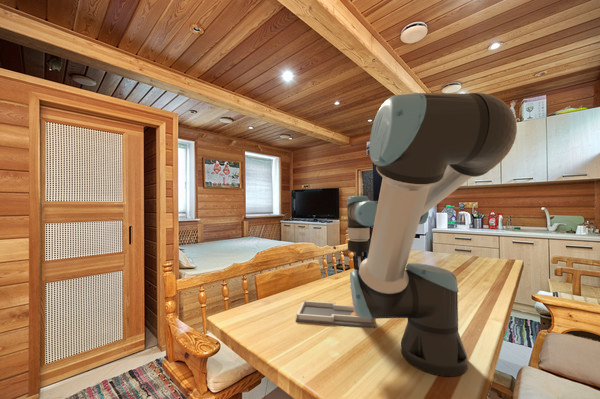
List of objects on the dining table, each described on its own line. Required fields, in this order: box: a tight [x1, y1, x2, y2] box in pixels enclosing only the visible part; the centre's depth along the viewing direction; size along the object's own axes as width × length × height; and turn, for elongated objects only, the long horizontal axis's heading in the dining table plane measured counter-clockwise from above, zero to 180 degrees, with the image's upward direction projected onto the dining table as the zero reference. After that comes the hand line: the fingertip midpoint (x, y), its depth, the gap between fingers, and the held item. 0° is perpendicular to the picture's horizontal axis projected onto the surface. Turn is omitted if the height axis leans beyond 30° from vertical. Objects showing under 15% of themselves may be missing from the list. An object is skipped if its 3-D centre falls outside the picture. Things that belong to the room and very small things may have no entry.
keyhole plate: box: [295, 300, 376, 329], centre depth 89 cm, size 14×26×2 cm, turn 79°
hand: (359, 305), depth 87 cm, fingers closed on smoothie, 6 cm apart
